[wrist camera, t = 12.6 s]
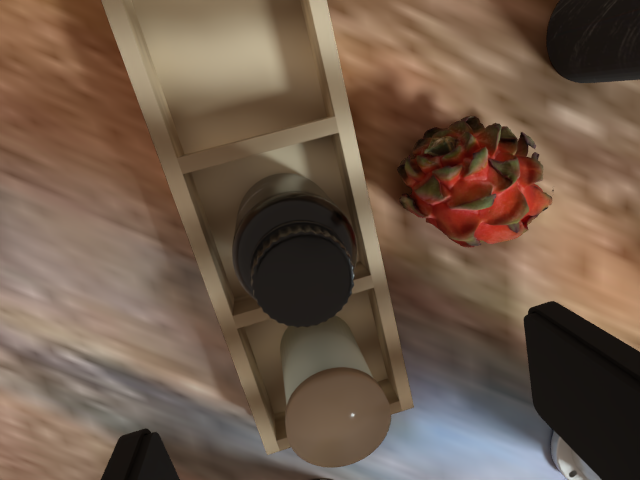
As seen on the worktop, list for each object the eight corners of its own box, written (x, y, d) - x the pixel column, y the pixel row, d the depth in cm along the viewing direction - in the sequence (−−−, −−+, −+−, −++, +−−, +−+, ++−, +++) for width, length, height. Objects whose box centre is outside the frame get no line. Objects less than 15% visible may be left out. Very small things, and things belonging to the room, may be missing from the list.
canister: (363, 367, 34) (399, 447, 26) (289, 390, 34) (301, 480, 25) (346, 299, 33) (379, 363, 24) (267, 323, 32) (273, 396, 24)
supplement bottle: (233, 172, 28) (223, 207, 17) (330, 170, 30) (381, 201, 18) (239, 266, 30) (233, 353, 19) (330, 261, 31) (376, 340, 20)
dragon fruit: (374, 138, 32) (488, 185, 37) (367, 239, 29) (492, 276, 34) (451, 68, 25) (581, 136, 29) (452, 192, 22) (598, 248, 26)
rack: (401, 374, 37) (419, 405, 33) (260, 419, 36) (261, 457, 32) (305, -63, 26) (315, -96, 22) (103, -17, 25) (75, -43, 21)
